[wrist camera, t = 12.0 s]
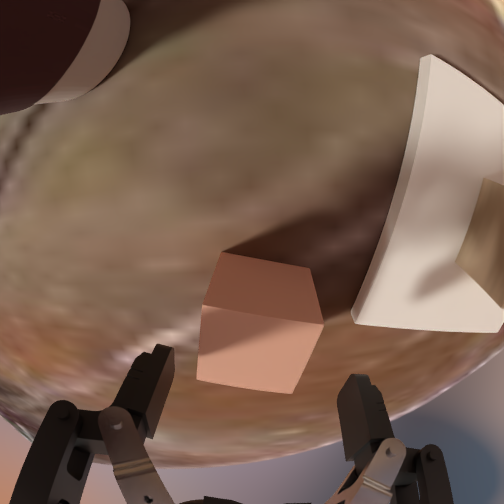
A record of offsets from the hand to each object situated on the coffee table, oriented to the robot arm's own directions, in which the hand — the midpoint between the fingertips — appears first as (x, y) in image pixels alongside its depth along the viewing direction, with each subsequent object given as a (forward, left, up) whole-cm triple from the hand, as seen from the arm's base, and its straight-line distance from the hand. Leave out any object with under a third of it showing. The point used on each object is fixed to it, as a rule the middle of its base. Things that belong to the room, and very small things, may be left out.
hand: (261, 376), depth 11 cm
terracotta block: (0, 0, -6) cm, 6 cm away
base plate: (-8, +14, -6) cm, 17 cm away
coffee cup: (-14, -13, -6) cm, 20 cm away
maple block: (-8, +14, -5) cm, 17 cm away
